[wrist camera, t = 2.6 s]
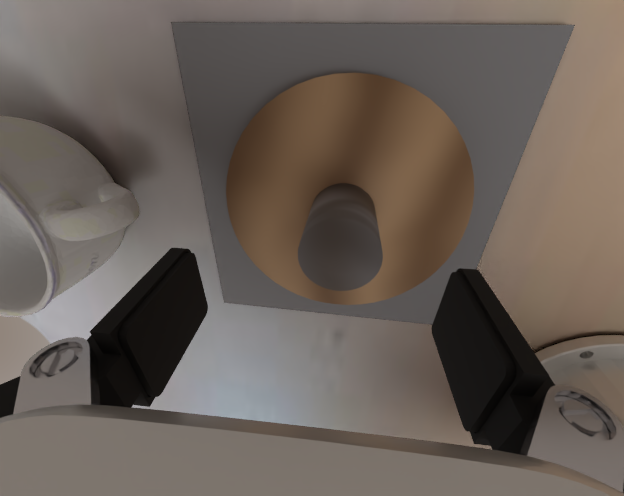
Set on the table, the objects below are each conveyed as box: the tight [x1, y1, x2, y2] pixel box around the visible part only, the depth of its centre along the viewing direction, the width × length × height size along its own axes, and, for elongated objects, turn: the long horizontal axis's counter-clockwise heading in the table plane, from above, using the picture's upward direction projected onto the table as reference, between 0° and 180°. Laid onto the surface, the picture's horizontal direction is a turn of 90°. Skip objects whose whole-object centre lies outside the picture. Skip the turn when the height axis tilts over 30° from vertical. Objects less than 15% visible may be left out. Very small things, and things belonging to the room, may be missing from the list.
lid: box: [226, 73, 474, 305], centre depth 16 cm, size 15×15×6 cm
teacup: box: [0, 116, 139, 317], centre depth 17 cm, size 14×11×8 cm
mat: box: [171, 22, 575, 325], centre depth 18 cm, size 19×19×1 cm
